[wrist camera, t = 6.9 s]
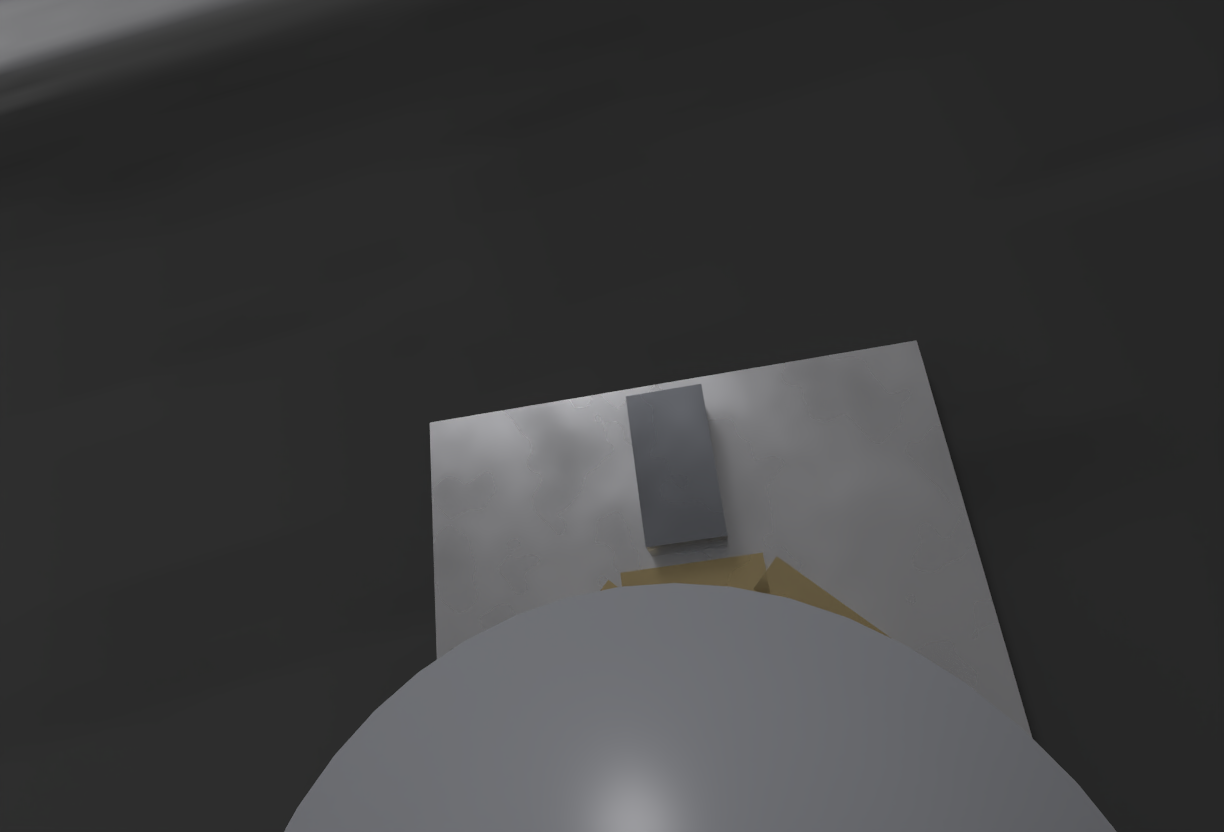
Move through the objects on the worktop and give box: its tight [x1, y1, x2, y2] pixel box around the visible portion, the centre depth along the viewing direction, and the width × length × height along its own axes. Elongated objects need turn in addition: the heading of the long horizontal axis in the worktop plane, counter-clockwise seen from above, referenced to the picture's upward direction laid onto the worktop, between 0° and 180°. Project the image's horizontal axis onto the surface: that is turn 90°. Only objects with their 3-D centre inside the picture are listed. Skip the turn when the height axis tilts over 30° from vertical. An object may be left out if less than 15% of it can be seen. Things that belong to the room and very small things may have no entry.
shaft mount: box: [430, 341, 1032, 738], centre depth 17 cm, size 20×14×2 cm
